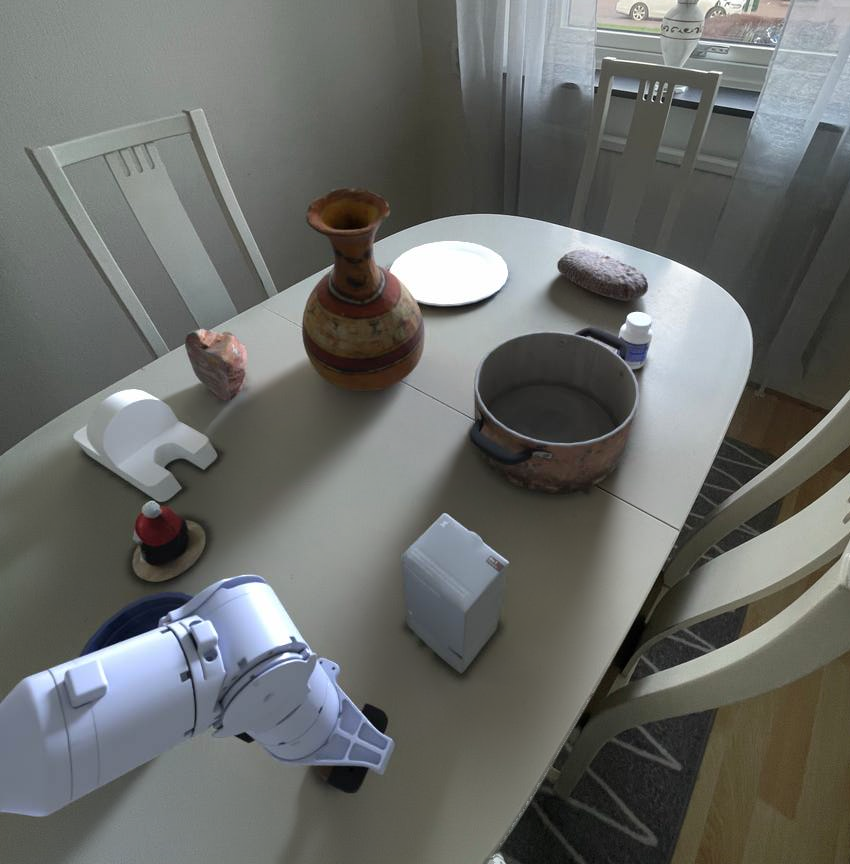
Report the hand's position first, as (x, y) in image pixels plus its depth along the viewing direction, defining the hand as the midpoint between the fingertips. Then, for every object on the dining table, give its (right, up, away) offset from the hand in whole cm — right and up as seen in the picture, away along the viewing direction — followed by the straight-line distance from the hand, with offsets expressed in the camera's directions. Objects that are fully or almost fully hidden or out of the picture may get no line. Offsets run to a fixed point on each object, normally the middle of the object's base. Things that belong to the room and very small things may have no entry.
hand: (326, 742), depth 46 cm
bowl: (-21, +1, +9) cm, 23 cm away
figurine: (-25, +11, +19) cm, 33 cm away
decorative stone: (+39, +52, +62) cm, 90 cm away
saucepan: (+24, +24, +33) cm, 47 cm away
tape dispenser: (-34, +21, +30) cm, 50 cm away
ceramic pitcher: (-6, +35, +44) cm, 57 cm away
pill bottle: (+39, +36, +45) cm, 69 cm away
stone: (-28, +32, +41) cm, 59 cm away
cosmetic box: (+11, +4, +12) cm, 17 cm away
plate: (+7, +55, +64) cm, 84 cm away
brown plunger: (0, -4, +4) cm, 5 cm away
